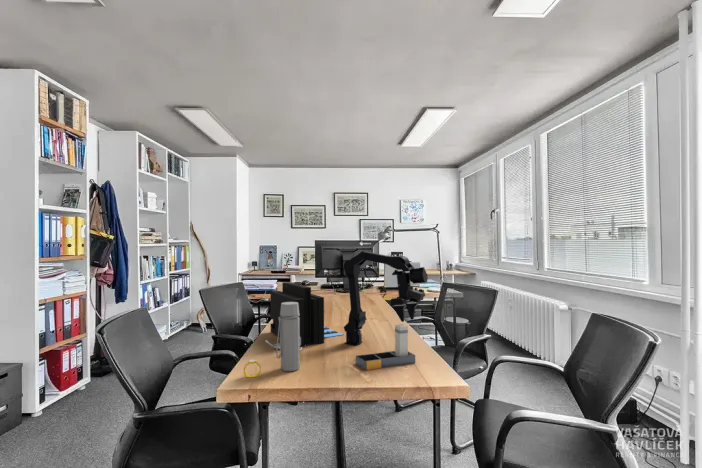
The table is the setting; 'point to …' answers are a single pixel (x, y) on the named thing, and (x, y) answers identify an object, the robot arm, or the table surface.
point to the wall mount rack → (279, 344)
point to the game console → (302, 313)
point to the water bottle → (289, 336)
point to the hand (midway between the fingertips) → (407, 320)
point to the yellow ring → (252, 363)
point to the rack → (383, 360)
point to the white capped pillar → (401, 340)
